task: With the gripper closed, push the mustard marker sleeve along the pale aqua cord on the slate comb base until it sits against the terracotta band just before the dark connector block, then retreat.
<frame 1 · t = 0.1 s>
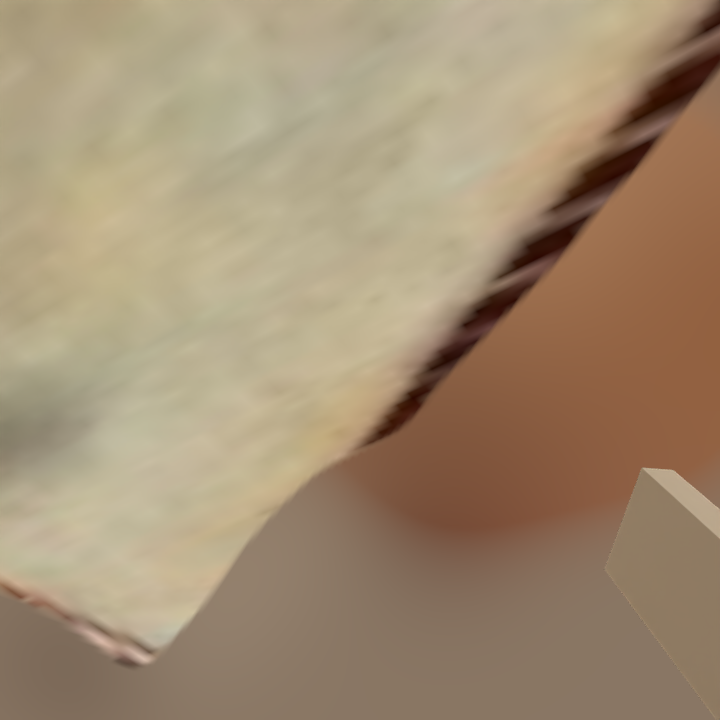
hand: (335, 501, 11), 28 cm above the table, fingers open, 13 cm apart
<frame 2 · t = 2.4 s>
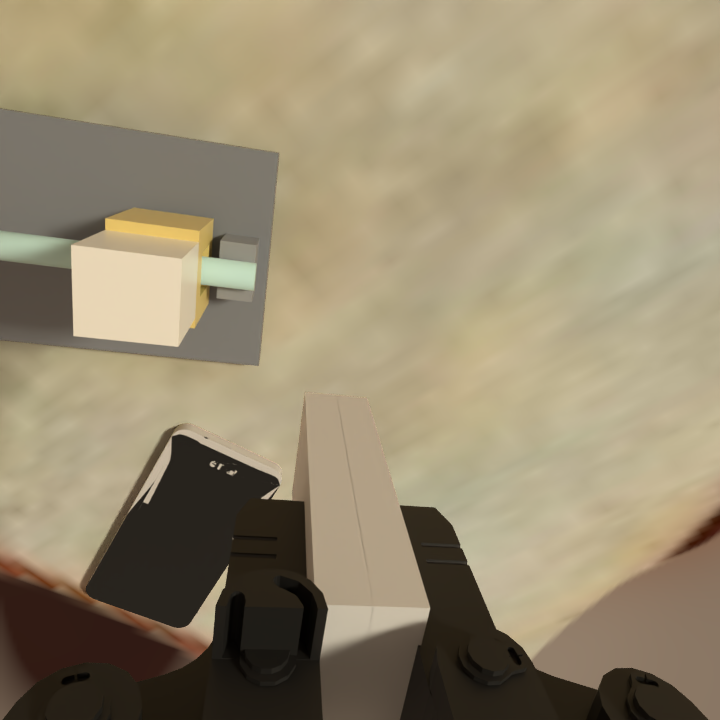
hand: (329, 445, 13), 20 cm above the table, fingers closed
sleeve: (153, 274, 25), point 6 cm above the table, slide at 0.0 cm
smartphone: (185, 522, 39), on the table
comb base: (66, 236, 30), on the table
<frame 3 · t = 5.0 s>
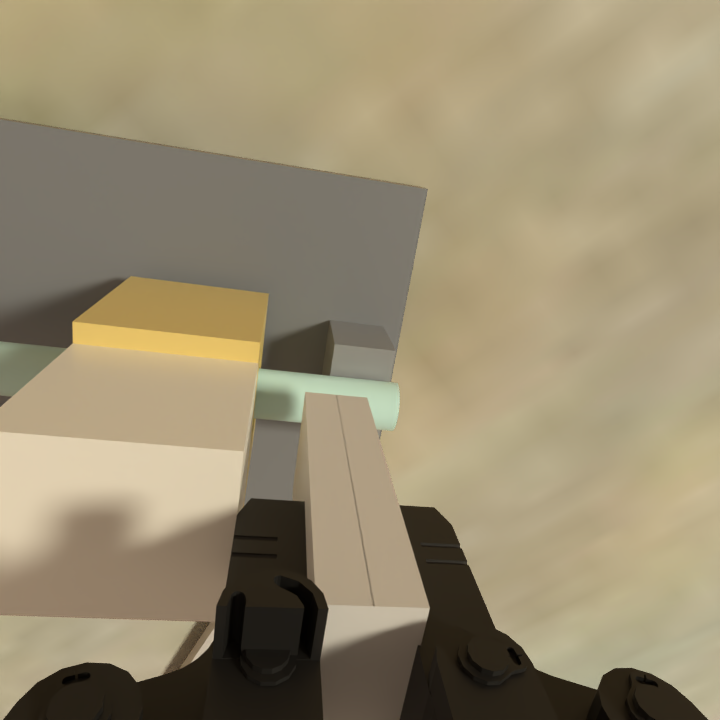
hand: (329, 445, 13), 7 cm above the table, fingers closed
sleeve: (167, 419, 13), point 6 cm above the table, slide at 1.4 cm, touching gripper
smartphone: (234, 713, 26), on the table
comb base: (63, 321, 18), on the table
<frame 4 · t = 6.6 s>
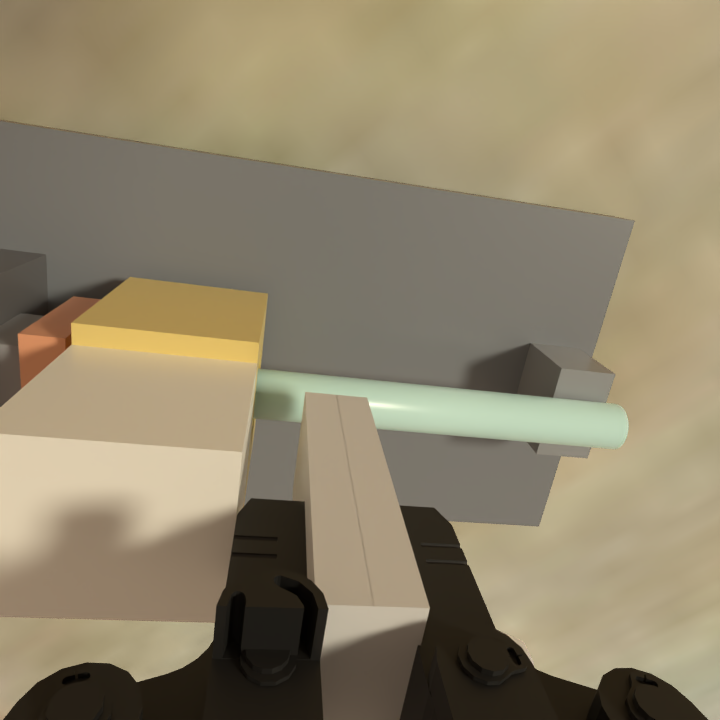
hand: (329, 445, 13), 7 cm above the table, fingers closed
sleeve: (166, 420, 13), point 6 cm above the table, slide at 8.4 cm, touching gripper
comb base: (277, 345, 19), on the table
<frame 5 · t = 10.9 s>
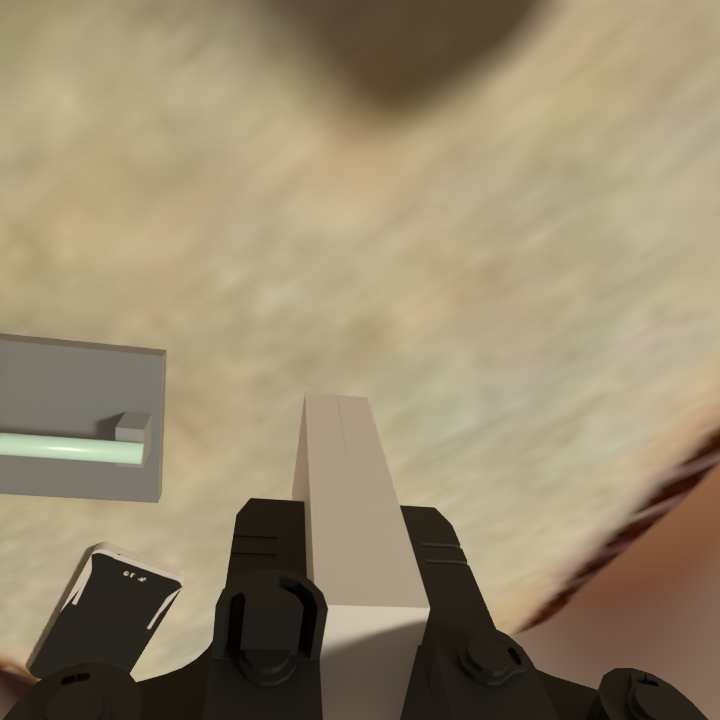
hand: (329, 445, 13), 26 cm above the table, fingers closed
smartphone: (110, 613, 48), on the table
comb base: (4, 412, 40), on the table
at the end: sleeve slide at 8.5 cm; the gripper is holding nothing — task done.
